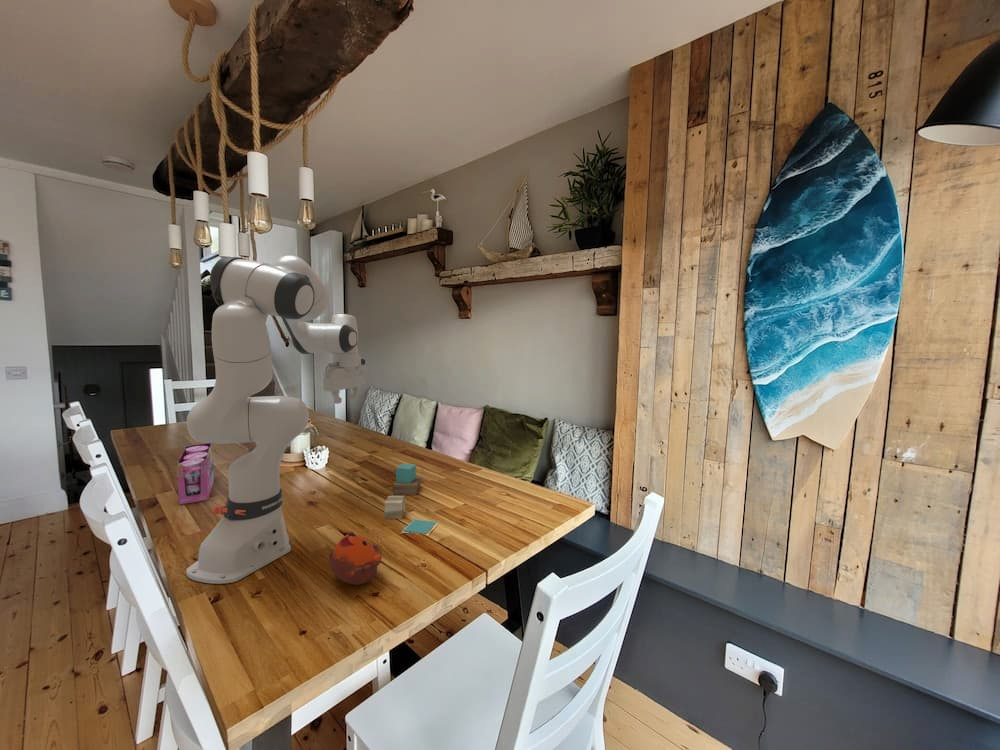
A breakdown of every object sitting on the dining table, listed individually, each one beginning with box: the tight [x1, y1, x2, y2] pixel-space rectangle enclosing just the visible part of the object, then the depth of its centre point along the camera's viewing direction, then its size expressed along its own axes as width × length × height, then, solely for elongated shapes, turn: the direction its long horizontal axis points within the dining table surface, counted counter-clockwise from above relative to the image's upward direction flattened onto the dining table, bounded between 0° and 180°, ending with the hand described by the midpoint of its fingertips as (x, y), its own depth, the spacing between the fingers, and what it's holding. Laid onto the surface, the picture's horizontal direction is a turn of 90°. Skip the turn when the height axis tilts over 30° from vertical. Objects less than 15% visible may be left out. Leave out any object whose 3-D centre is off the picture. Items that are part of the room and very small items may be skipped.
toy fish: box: [328, 532, 383, 586], centre depth 92 cm, size 12×10×11 cm
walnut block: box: [392, 476, 422, 496], centre depth 143 cm, size 8×8×4 cm
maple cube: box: [384, 495, 406, 519], centre depth 125 cm, size 5×5×5 cm
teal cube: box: [395, 463, 417, 484], centre depth 143 cm, size 5×5×5 cm
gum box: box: [176, 443, 215, 505], centre depth 139 cm, size 24×8×14 cm, turn 31°
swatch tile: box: [401, 518, 438, 534], centre depth 117 cm, size 8×8×1 cm
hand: (346, 401), depth 143 cm, fingers open, 8 cm apart
